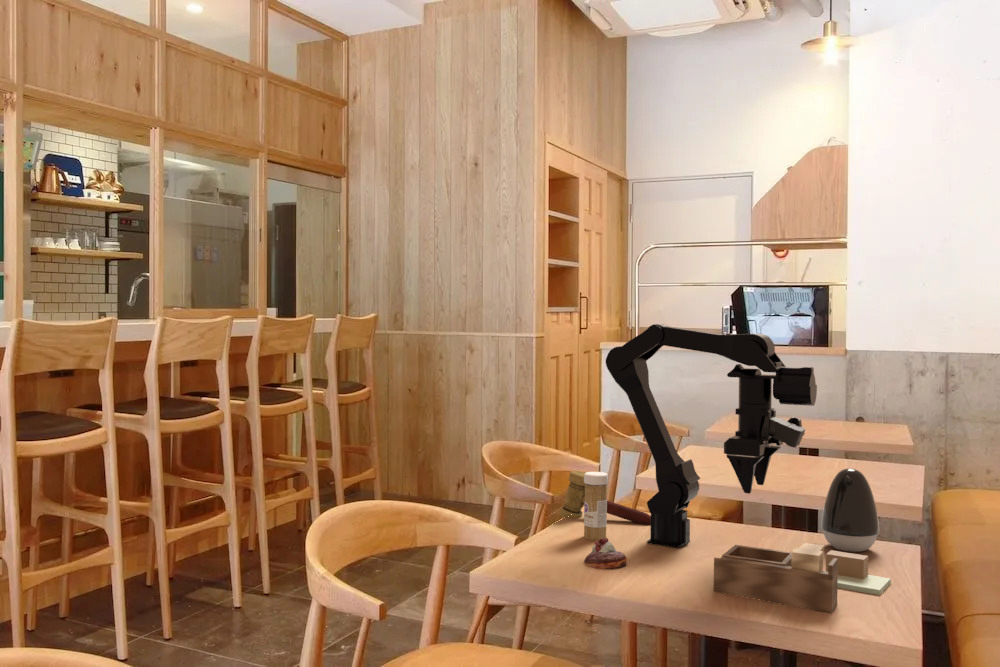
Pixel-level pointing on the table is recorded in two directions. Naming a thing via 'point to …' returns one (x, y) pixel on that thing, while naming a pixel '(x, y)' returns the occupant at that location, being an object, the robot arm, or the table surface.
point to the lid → (856, 573)
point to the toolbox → (775, 578)
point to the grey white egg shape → (850, 513)
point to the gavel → (577, 499)
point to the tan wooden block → (808, 557)
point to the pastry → (605, 556)
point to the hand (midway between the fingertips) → (754, 488)
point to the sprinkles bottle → (595, 505)
